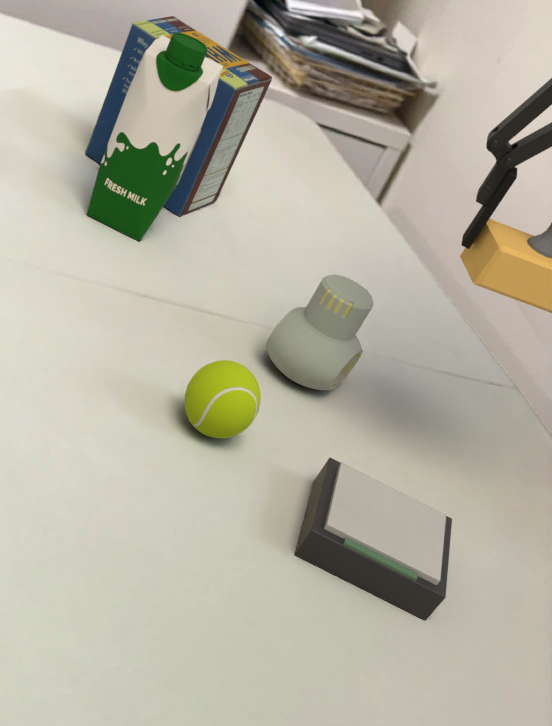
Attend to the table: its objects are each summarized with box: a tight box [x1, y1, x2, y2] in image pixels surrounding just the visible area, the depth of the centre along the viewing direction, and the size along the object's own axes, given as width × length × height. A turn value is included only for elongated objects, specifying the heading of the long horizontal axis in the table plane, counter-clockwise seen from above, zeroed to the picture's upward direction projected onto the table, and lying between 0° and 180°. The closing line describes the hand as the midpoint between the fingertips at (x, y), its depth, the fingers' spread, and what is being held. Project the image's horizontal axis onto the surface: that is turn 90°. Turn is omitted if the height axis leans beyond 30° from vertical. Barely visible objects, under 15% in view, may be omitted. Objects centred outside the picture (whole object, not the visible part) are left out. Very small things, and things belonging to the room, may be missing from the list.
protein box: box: [84, 15, 273, 217], centre depth 133 cm, size 10×15×16 cm
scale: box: [294, 457, 453, 621], centre depth 99 cm, size 13×13×4 cm
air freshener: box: [265, 274, 375, 391], centre depth 115 cm, size 11×8×10 cm
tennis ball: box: [183, 359, 262, 439], centre depth 102 cm, size 7×7×7 cm
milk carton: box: [86, 33, 223, 242], centre depth 121 cm, size 9×9×20 cm
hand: (524, 272), depth 97 cm, fingers closed on rubber stamp, 11 cm apart
